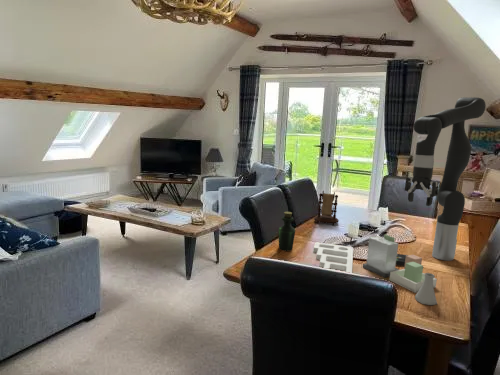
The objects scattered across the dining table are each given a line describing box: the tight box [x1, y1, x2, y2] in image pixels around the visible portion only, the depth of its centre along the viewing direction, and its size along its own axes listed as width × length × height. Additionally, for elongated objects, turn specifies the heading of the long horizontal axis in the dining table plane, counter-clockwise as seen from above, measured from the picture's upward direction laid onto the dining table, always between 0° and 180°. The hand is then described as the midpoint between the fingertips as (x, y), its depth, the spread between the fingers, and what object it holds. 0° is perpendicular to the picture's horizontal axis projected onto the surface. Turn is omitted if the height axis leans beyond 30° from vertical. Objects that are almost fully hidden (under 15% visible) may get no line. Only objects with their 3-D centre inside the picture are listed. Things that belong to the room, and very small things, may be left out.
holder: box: [313, 241, 354, 274], centre depth 163 cm, size 45×18×3 cm, turn 164°
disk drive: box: [395, 253, 409, 267], centre depth 172 cm, size 10×3×15 cm
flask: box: [414, 272, 438, 306], centre depth 133 cm, size 7×7×10 cm
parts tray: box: [389, 268, 438, 294], centre depth 148 cm, size 12×12×4 cm
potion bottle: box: [278, 211, 296, 252], centre depth 179 cm, size 8×8×18 cm
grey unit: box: [362, 234, 400, 279], centre depth 159 cm, size 10×12×15 cm
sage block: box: [404, 262, 424, 283], centre depth 147 cm, size 4×4×7 cm
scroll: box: [313, 190, 339, 226], centre depth 231 cm, size 15×15×20 cm
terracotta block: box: [403, 254, 423, 269], centre depth 159 cm, size 4×4×7 cm
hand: (419, 203), depth 160 cm, fingers open, 8 cm apart
